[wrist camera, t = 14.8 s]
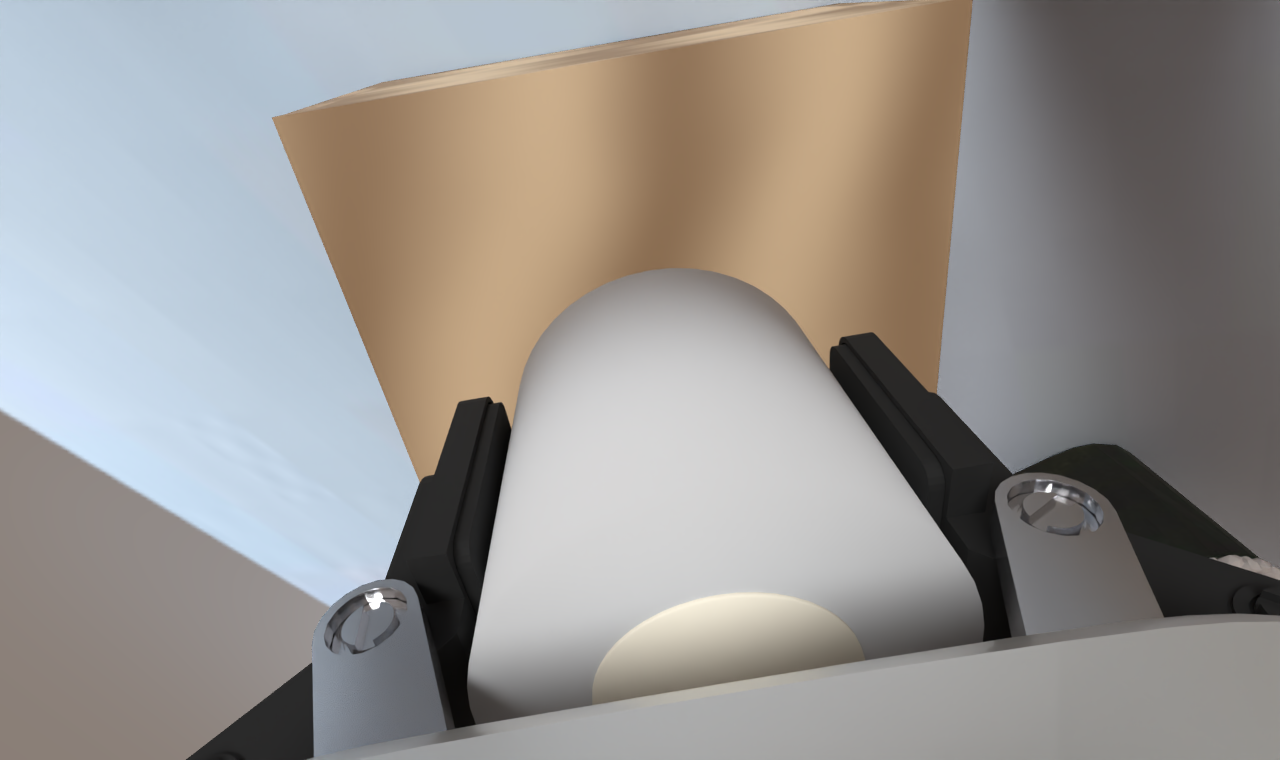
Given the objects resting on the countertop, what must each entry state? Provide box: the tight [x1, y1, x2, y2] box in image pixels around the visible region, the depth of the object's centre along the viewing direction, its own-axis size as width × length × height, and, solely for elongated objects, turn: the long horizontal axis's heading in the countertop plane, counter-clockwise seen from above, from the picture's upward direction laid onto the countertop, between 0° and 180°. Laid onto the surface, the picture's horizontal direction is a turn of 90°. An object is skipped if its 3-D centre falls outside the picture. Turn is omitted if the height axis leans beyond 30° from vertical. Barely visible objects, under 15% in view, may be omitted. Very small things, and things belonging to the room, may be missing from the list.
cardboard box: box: [288, 0, 945, 114], centre depth 19 cm, size 14×12×7 cm
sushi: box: [1013, 444, 1280, 580], centre depth 27 cm, size 8×8×8 cm
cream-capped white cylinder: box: [467, 268, 984, 725], centre depth 10 cm, size 6×6×6 cm
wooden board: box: [272, 0, 973, 482], centre depth 16 cm, size 14×12×1 cm
